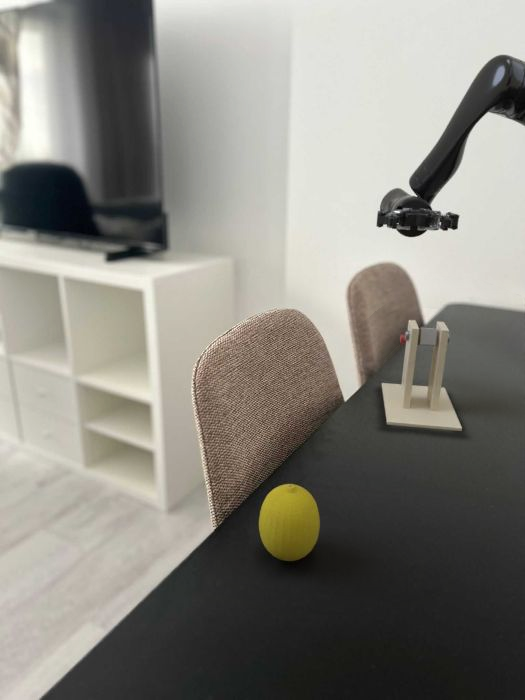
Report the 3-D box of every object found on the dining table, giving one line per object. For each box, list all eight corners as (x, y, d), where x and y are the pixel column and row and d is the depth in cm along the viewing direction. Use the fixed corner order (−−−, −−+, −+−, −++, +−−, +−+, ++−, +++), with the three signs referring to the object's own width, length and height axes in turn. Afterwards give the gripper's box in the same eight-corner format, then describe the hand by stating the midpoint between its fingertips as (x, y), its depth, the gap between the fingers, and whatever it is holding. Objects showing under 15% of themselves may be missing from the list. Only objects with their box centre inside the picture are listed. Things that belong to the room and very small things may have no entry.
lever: (399, 346, 84) (400, 331, 84) (430, 348, 84) (431, 333, 84) (409, 343, 72) (410, 326, 72) (446, 346, 72) (447, 329, 72)
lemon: (276, 531, 52) (278, 462, 49) (327, 551, 49) (332, 479, 46) (247, 565, 47) (247, 491, 44) (300, 590, 44) (304, 512, 42)
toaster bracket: (380, 391, 85) (389, 310, 80) (443, 396, 83) (455, 314, 79) (386, 431, 72) (396, 337, 67) (460, 438, 70) (476, 342, 66)
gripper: (376, 195, 102) (380, 199, 87) (450, 197, 100) (467, 201, 85) (372, 233, 105) (376, 244, 90) (445, 236, 103) (461, 247, 88)
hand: (420, 223), depth 88 cm, fingers open, 8 cm apart
